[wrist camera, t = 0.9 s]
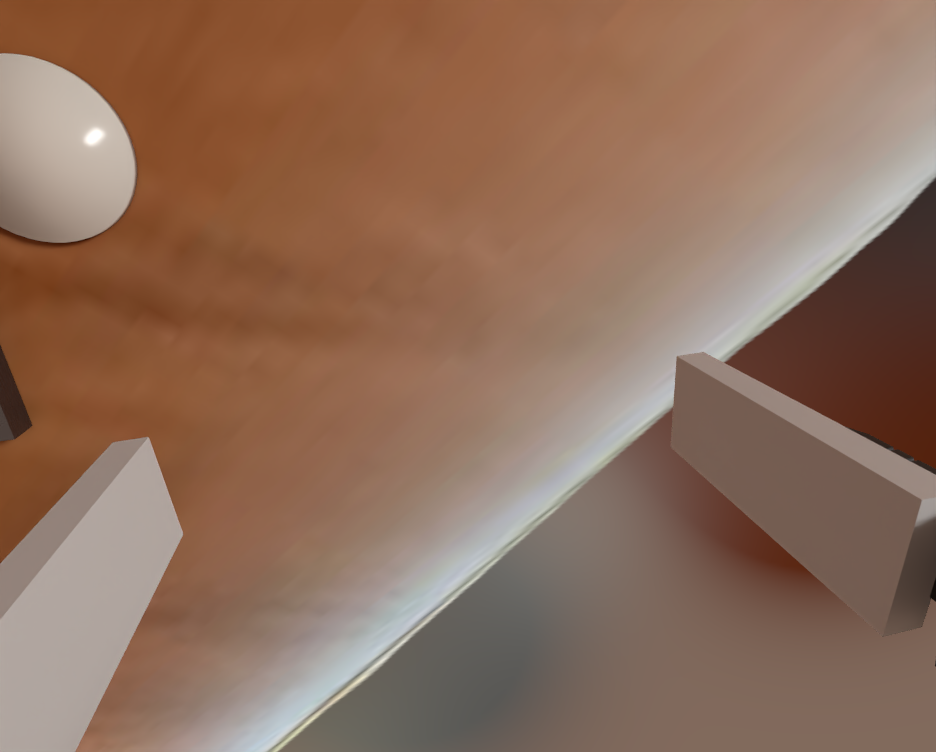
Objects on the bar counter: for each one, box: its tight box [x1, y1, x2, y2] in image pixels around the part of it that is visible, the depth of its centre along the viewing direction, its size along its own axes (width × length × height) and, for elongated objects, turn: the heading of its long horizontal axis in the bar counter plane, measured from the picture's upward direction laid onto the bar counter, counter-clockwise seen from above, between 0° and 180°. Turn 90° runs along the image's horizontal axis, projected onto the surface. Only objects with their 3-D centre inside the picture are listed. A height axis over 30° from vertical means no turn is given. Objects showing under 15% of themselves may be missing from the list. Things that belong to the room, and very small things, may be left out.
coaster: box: [0, 54, 137, 243], centre depth 30 cm, size 10×10×1 cm
